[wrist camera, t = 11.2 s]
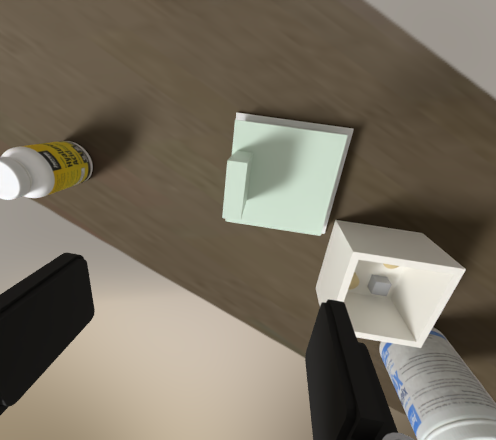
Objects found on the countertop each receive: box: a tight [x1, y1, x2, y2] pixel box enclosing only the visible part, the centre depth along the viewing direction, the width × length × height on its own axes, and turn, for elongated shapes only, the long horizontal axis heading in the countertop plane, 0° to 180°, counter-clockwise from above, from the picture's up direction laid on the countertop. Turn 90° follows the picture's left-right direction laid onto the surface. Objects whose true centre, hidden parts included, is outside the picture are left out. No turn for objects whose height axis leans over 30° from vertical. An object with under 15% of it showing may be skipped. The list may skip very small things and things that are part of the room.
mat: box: [236, 113, 354, 234], centre depth 31 cm, size 13×13×1 cm
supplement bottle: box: [0, 141, 93, 200], centre depth 28 cm, size 5×5×10 cm
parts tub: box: [316, 220, 466, 348], centre depth 31 cm, size 11×11×8 cm
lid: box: [222, 120, 348, 236], centre depth 27 cm, size 12×12×8 cm
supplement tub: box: [380, 328, 496, 440], centre depth 33 cm, size 10×10×15 cm
